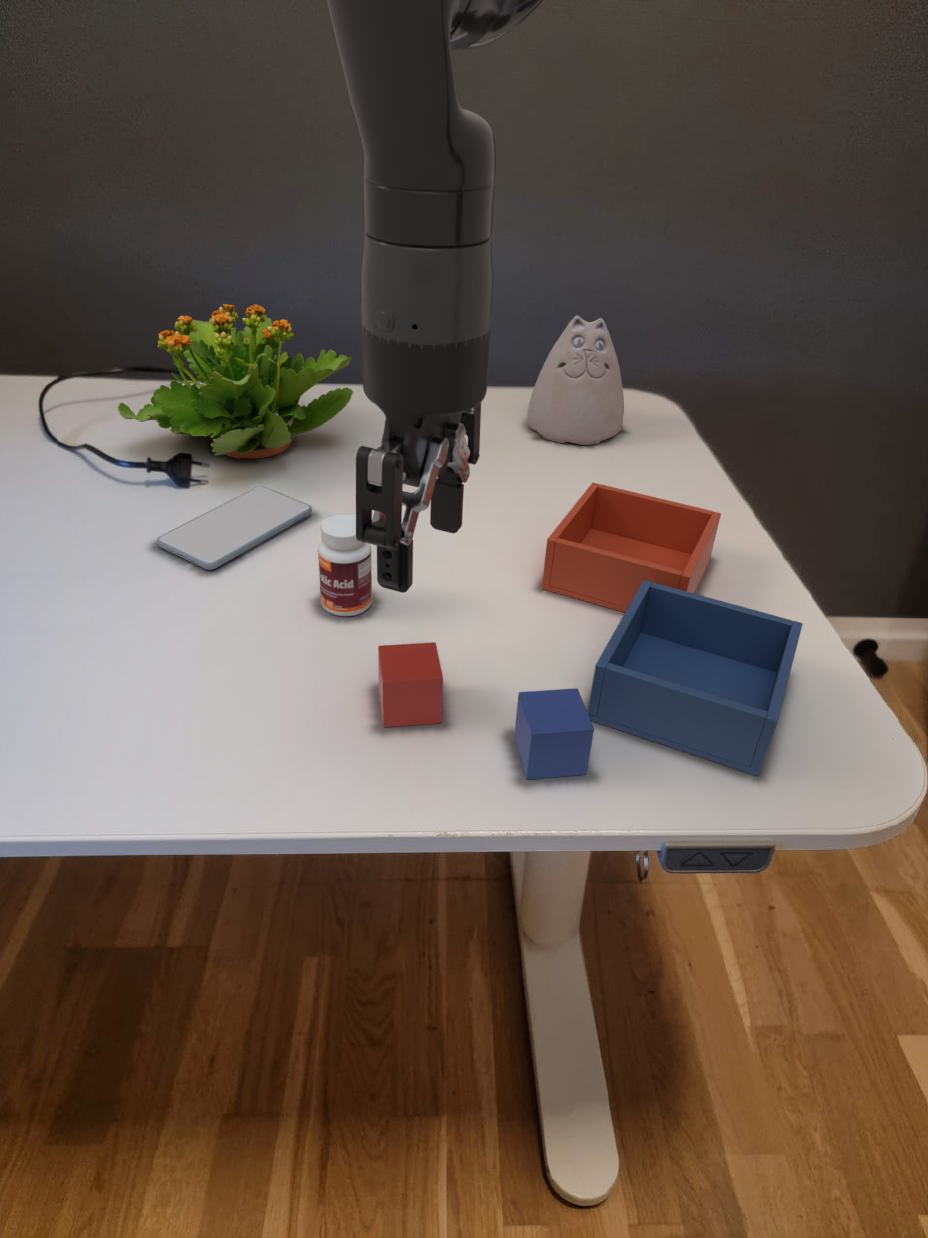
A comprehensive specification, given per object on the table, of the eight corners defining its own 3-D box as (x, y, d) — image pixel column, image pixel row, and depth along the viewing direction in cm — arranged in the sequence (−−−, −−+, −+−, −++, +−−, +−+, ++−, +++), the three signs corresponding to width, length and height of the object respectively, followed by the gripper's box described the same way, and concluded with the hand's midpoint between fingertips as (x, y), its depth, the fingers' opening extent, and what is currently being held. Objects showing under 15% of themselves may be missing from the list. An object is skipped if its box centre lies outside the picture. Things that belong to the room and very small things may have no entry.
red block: (434, 685, 72) (435, 641, 69) (441, 723, 68) (443, 678, 65) (378, 689, 71) (378, 645, 68) (383, 727, 67) (382, 682, 65)
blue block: (571, 732, 68) (578, 687, 65) (586, 775, 64) (594, 729, 61) (513, 736, 67) (518, 691, 64) (526, 780, 63) (531, 734, 61)
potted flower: (250, 392, 122) (237, 262, 112) (393, 431, 113) (392, 293, 103) (114, 456, 104) (83, 307, 94) (272, 507, 95) (256, 350, 85)
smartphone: (152, 538, 87) (260, 483, 97) (153, 547, 88) (261, 491, 98) (209, 566, 83) (315, 506, 93) (210, 574, 84) (316, 514, 94)
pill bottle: (311, 610, 80) (305, 530, 75) (336, 584, 83) (332, 507, 78) (357, 623, 78) (354, 543, 73) (381, 596, 82) (379, 518, 77)
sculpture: (562, 454, 110) (576, 335, 101) (509, 421, 118) (518, 308, 109) (638, 436, 115) (658, 322, 107) (583, 405, 123) (598, 297, 115)
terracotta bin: (709, 560, 90) (721, 512, 87) (678, 628, 80) (690, 577, 77) (585, 528, 94) (592, 481, 91) (541, 588, 84) (546, 539, 81)
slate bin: (785, 675, 75) (803, 622, 72) (758, 777, 65) (777, 721, 61) (633, 630, 79) (643, 579, 76) (586, 719, 69) (595, 664, 66)
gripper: (437, 365, 43) (430, 625, 53) (526, 296, 54) (507, 522, 64) (306, 341, 46) (322, 596, 55) (418, 280, 56) (415, 501, 66)
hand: (421, 556), depth 59 cm, fingers open, 8 cm apart
